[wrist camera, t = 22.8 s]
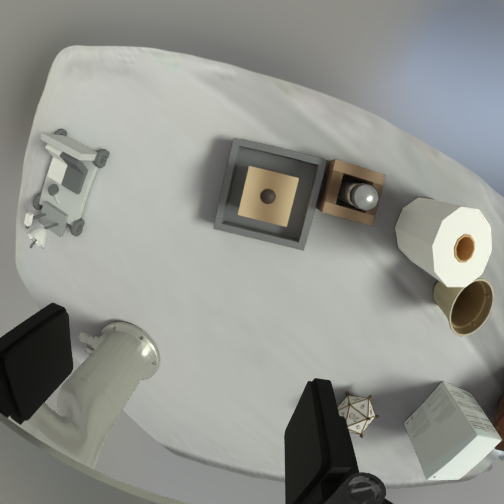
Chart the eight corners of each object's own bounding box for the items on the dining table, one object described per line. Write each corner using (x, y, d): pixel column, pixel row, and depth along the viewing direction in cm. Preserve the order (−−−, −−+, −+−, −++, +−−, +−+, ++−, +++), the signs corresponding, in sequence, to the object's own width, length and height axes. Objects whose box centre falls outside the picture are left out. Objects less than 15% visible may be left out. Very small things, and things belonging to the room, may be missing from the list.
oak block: (242, 209, 41) (237, 215, 35) (252, 167, 39) (249, 165, 34) (284, 219, 41) (286, 227, 35) (295, 177, 39) (299, 178, 34)
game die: (337, 392, 53) (311, 419, 46) (368, 374, 48) (345, 404, 41) (361, 422, 50) (339, 452, 42) (393, 408, 45) (374, 441, 37)
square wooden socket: (317, 208, 41) (322, 212, 36) (329, 160, 39) (335, 159, 35) (362, 221, 41) (372, 226, 36) (374, 175, 39) (385, 175, 35)
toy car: (43, 263, 36) (3, 229, 36) (78, 247, 46) (38, 219, 45) (76, 148, 32) (29, 124, 31) (112, 151, 41) (66, 129, 41)
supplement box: (434, 430, 51) (458, 480, 34) (402, 423, 50) (425, 481, 33) (471, 392, 48) (503, 439, 31) (442, 379, 47) (477, 435, 30)
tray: (217, 224, 42) (213, 228, 40) (236, 140, 39) (233, 137, 36) (301, 245, 42) (303, 250, 39) (323, 161, 39) (327, 160, 36)
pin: (333, 199, 40) (350, 207, 31) (338, 179, 40) (357, 180, 30) (353, 204, 40) (375, 214, 31) (358, 184, 39) (381, 188, 30)
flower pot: (456, 250, 40) (485, 265, 32) (473, 289, 42) (499, 308, 33) (417, 286, 42) (441, 307, 34) (436, 323, 44) (459, 347, 36)
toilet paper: (454, 243, 40) (498, 264, 29) (406, 272, 42) (442, 303, 30) (436, 186, 38) (482, 193, 27) (385, 214, 40) (421, 229, 29)
